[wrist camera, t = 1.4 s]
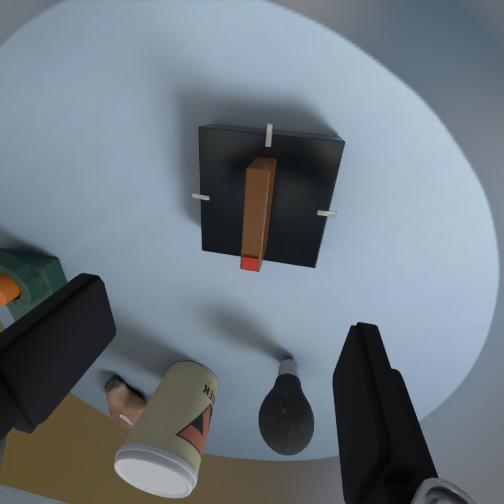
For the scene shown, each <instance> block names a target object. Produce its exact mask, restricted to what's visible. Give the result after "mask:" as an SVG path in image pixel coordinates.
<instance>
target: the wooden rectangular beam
mask: <svg viewBox="0 0 504 504" xmlns="http://www.w3.org/2000/svg"><path fill="white" fill-rule="evenodd" d="M276 162H277V159H276V158H268V157H259V156H258V157H257V158H256V159H255V160H254V161H253V162H252V163H251V164H250V165H249V166H248V168H247V169H246V183H245V200H244V216H243V233H242V250H241V266H240V268H241V269H244V270H250V271H256V272H260V269H261V265H262V261H263V258H264V254H265V250H266V246H267V239H268V230H269V222H270V213H271V205H272V196H273V187H274V179H275V170H276Z"/></svg>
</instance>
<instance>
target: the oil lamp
mask: <svg viewBox="0 0 504 504" xmlns="http://www.w3.org/2000/svg"><path fill="white" fill-rule="evenodd" d="M105 391H106V397H107V401H108V404H109V413H110V415H111V417H112V419H113V420H114V421H115V422H116V423H117V424H119V425H120V426H122V427H126V428H133V427H134V425H135V424H136V422H137V420H138V418H139V417H140V415H141V414H142V412H143V410H144V409H145V407H146V405H147V403H146V402H145V400H143V399H142V398H141V397H139V396H138V395H137V394H136V393H134V392H133V391H131V390H130V389H129V388H128V387H127V386H126V385H125V383H124V382H122V381H118V380H117V379H111V380H109V381H107V383H106V384H105Z"/></svg>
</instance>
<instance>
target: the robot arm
mask: <svg viewBox="0 0 504 504" xmlns="http://www.w3.org/2000/svg"><path fill="white" fill-rule="evenodd" d="M115 334H116V327H115V323H114V319H113V315H112V312H111V308H110V304H109V300H108V296H107V293H106V289H105V285H104V282H103V281H102V280H101V278H100V277H99V276H97V275H92V274H86V273H81V274H79V275H78V276H76V277H75V278H74V279H72V280H71V281H70V282H68V283H67V284H66V285H64V286H63V287H61V288H60V289H59V290H57V291H56V292H55V293H53V294H52V295H51V296H49V297H48V298H47V299H45V300H44V301H43V302H41V303H40V304H39V305H37V306H36V307H35V308H33V309H32V310H31V311H29V312H28V313H27V314H25V315H24V316H23V317H21V318H20V319H18V320H17V321H16V322H14V323H13V324H12V325H10V326H9V327H8V328H6V329H5V330H4V331H2V332H1V333H0V469H1V463H2V458H3V453H4V448H5V443H6V437H7V434H8V432H9V431H10V430H11V429H12V428H13V427H14V428H15V429H16V430H19V431H23V432H27V433H32V432H33V430H34V429H35V428H36V427H37V426H38V424H41V423H43V422H44V421H45V420H46V419H47V418H48V417H49V416H50V415H51V413H52V412H53V411H54V410H55V409H56V407H57V406H58V405H59V404H60V402H61V401H62V400H63V399H64V397H65V396H66V395H67V394H68V393H69V392H70V390H71V389H72V388H73V387H74V386H75V384H76V383H77V382H78V381H79V379H80V378H81V377H82V376H83V375H84V373H85V372H86V371H87V370H88V369H89V367H90V366H91V365H92V364H93V362H94V361H95V360H96V359H97V358H98V356H99V355H100V354H101V353H102V352H103V350H104V349H105V348H106V347H107V346H108V344H109V343H110V342H111V341H112V339H113V338H114V336H115ZM333 394H334V404H335V414H336V424H337V435H338V445H339V455H340V465H341V476H342V486H343V495H344V501H345V503H346V504H476V503H475V502H474V501H473V500H472V499H471V498H470V497H469V496H468V495H467V494H466V493H465V492H464V491H462V490H461V489H460V488H458V487H457V486H456V485H454V484H453V483H450V482H448V481H446V480H444V479H440V478H438V475H437V472H436V469H435V466H434V464H433V461H432V458H431V455H430V453H429V450H428V447H427V444H426V441H425V439H424V436H423V433H422V431H421V427H420V425H419V422H418V419H417V416H416V413H415V411H414V408H413V405H412V402H411V399H410V397H409V394H408V391H407V388H406V386H405V383H404V380H403V377H402V375H401V373H400V372H399V371H398V370H396V369H391V366H390V363H389V360H388V357H387V354H386V351H385V348H384V345H383V342H382V339H381V335H380V332H379V329H378V327H377V326H376V325H373V324H368V323H362V322H358V323H357V325H356V326H354V325H352V326H351V327H350V330H349V332H348V335H347V338H346V341H345V343H344V346H343V349H342V351H341V354H340V357H339V360H338V362H337V365H336V368H335V370H334V373H333ZM0 504H67V503H63V502H60V501H57V500H53V499H50V498H46V497H43V496H39V495H36V494H32V493H29V492H26V491H22V490H18V489H15V488H12V487H8V486H5V485H1V484H0Z"/></svg>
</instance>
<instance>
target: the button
mask: <svg viewBox="0 0 504 504" xmlns="http://www.w3.org/2000/svg"><path fill="white" fill-rule="evenodd" d="M20 293H21V292H20V290H19V288H18V286H17V285H16V284H15V283H14V282H13V281H12V280H11V279H10V278H9V277H8V276H6V275H5V274H3V273H1V272H0V307H1V306H4V305H6V304H7V303H9V302H10V301H12V300H13V299H15V298H16V297H18V296H19V295H20Z"/></svg>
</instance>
